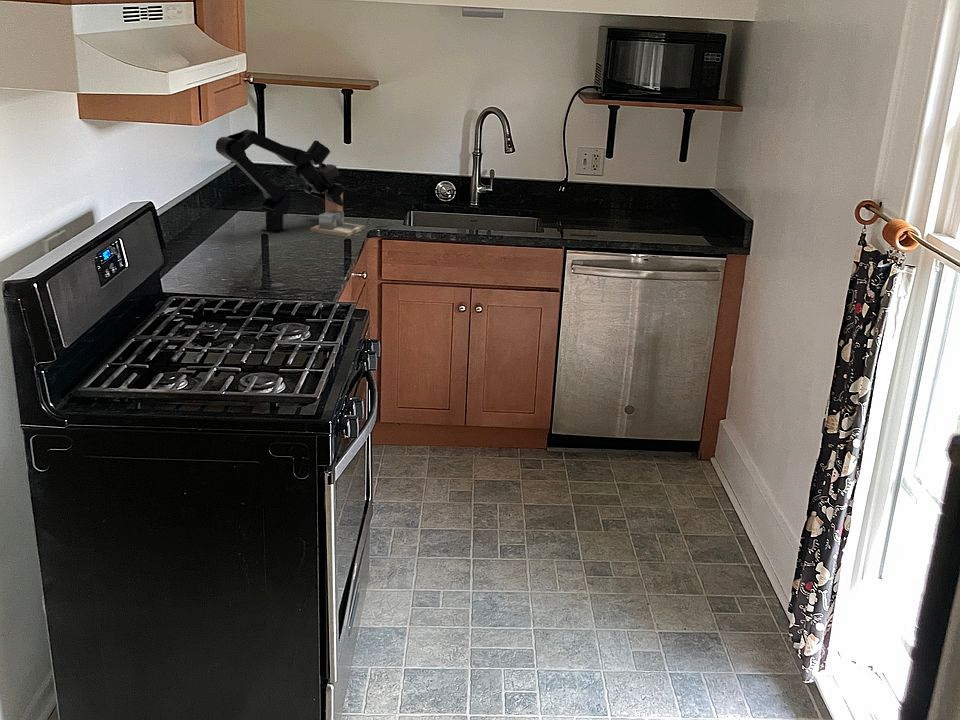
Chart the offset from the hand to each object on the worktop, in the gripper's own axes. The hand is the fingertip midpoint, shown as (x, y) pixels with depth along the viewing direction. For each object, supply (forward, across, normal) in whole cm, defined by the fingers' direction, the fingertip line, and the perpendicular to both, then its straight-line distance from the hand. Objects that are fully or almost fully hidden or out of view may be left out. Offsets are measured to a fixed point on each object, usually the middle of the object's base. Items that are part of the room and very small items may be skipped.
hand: (337, 203), depth 333 cm
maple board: (0, -11, +10) cm, 15 cm away
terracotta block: (+4, 0, +6) cm, 7 cm away
